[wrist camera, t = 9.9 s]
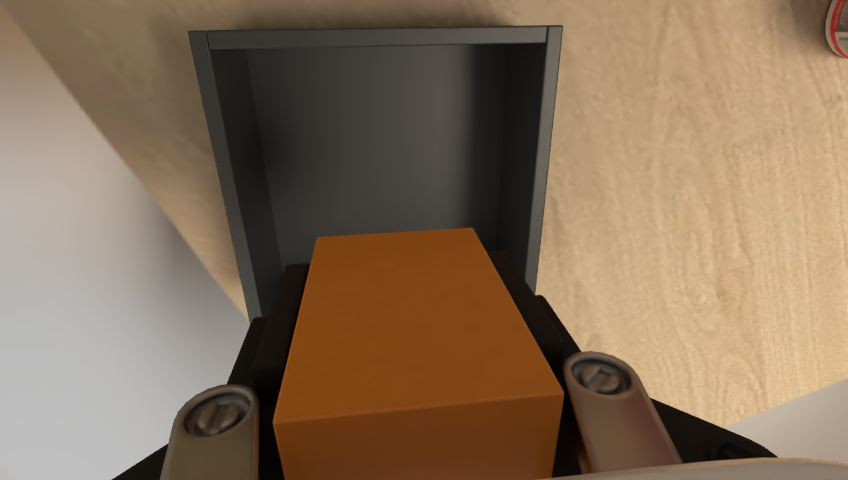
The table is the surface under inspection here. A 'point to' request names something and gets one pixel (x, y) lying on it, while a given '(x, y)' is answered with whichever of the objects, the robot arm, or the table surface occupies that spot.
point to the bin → (377, 137)
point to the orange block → (413, 367)
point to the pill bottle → (838, 27)
